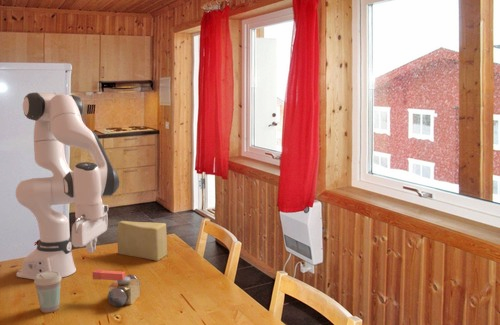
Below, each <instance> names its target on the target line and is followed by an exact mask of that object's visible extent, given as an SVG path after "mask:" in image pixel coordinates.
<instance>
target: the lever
mask: <svg viewBox="0 0 500 325" xmlns="http://www.w3.org/2000/svg"><path fill="white" fill-rule="evenodd" d="M92 280H105V281H107V280H108V281H115V280H117V282H118V284H120V285H125V284H129V283H130V277H126V271H116V270H103V269H97V268H96V269H95V270H93V271H92Z"/></svg>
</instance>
